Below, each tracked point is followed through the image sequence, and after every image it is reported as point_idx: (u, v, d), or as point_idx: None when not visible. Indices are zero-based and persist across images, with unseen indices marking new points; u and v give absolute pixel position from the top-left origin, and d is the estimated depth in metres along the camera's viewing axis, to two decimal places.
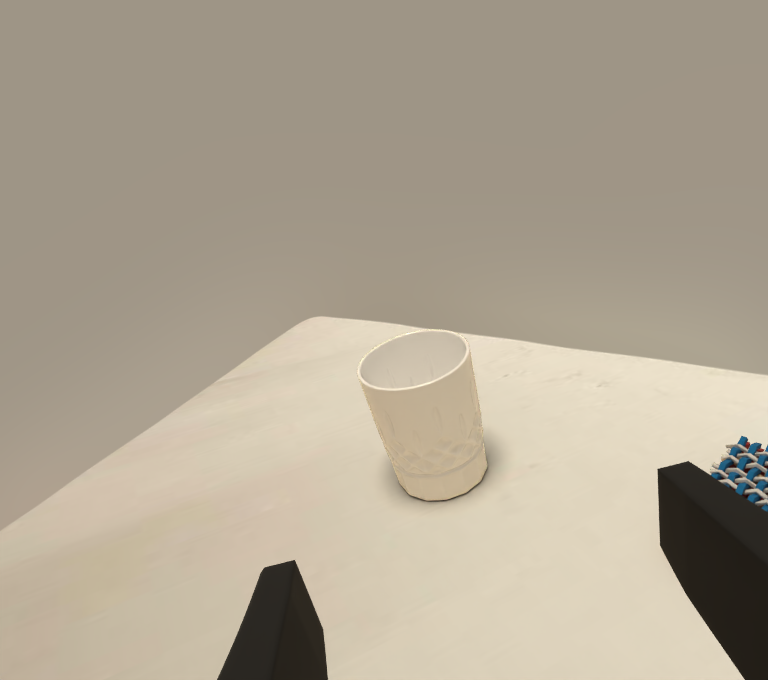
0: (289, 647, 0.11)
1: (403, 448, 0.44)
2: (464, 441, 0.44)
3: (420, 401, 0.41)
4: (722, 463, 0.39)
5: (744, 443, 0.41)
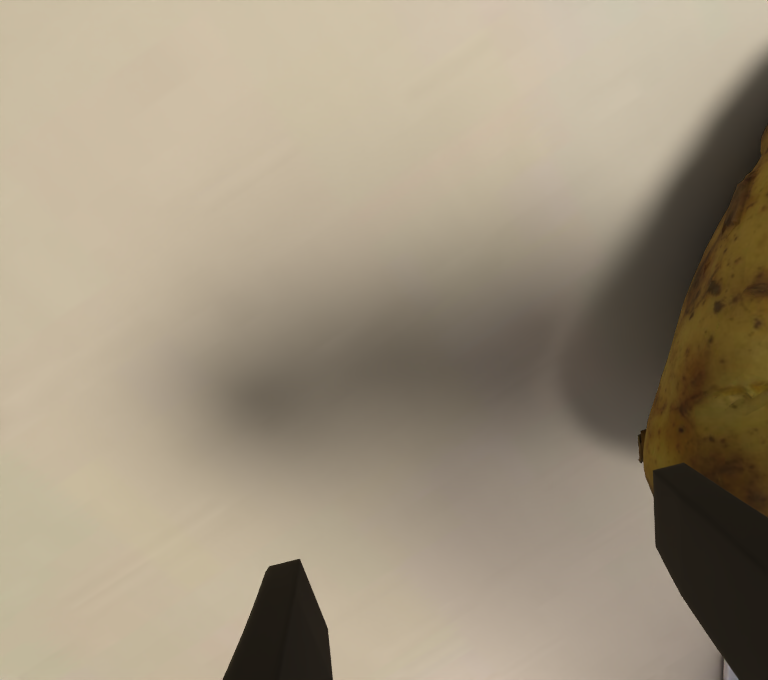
0: (295, 645, 0.11)
1: None
2: None
3: None
4: None
5: None
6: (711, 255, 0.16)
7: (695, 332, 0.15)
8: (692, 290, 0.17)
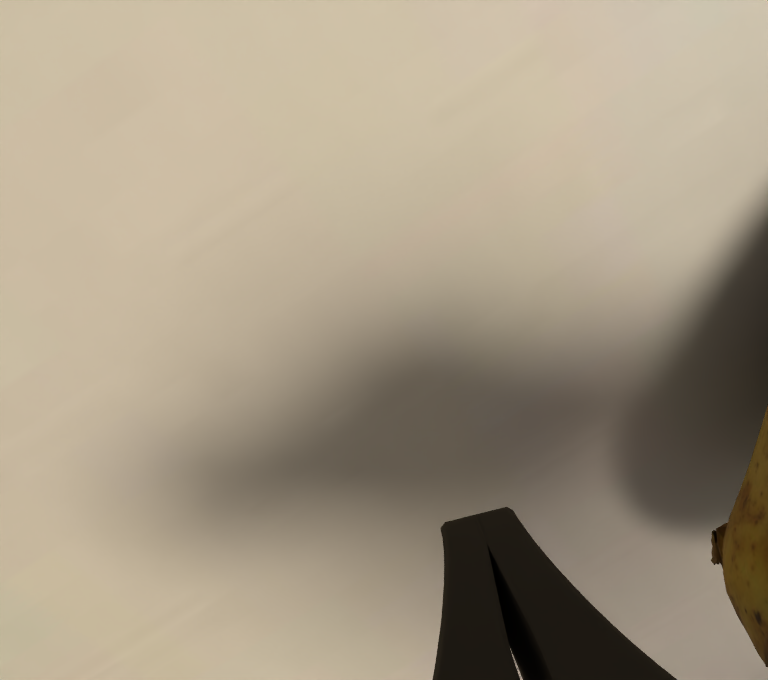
0: None
1: None
2: None
3: None
4: None
5: None
6: None
7: None
8: None
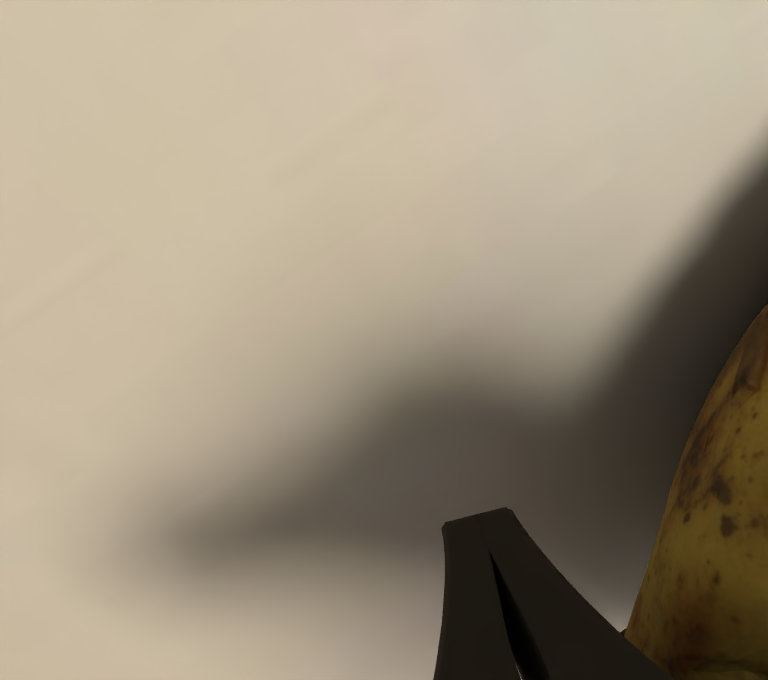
0: None
1: None
2: None
3: None
4: None
5: None
6: (716, 423, 0.11)
7: (692, 554, 0.10)
8: (688, 467, 0.11)
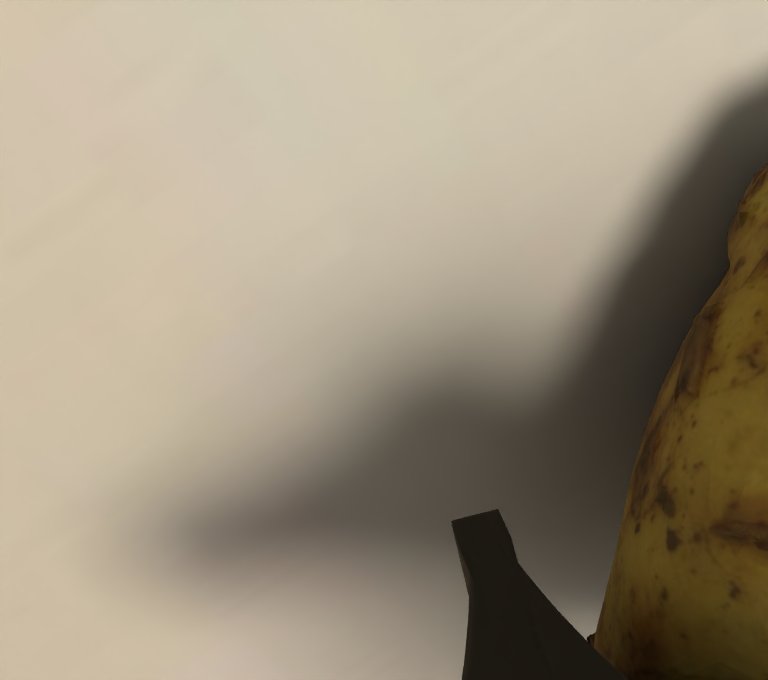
0: None
1: None
2: None
3: None
4: None
5: None
6: (662, 428, 0.11)
7: (642, 567, 0.10)
8: (639, 473, 0.11)
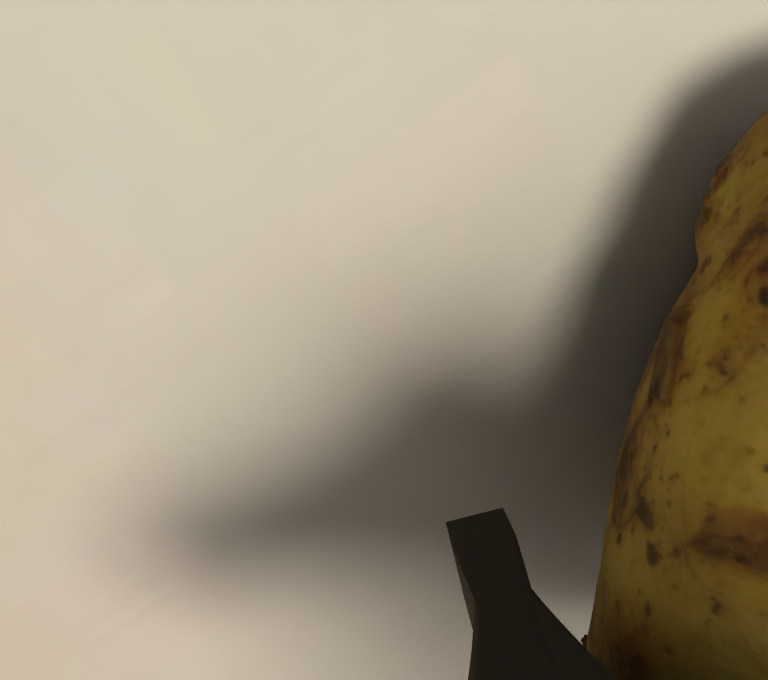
0: None
1: None
2: None
3: None
4: None
5: None
6: (638, 435, 0.10)
7: (624, 581, 0.10)
8: (619, 479, 0.11)
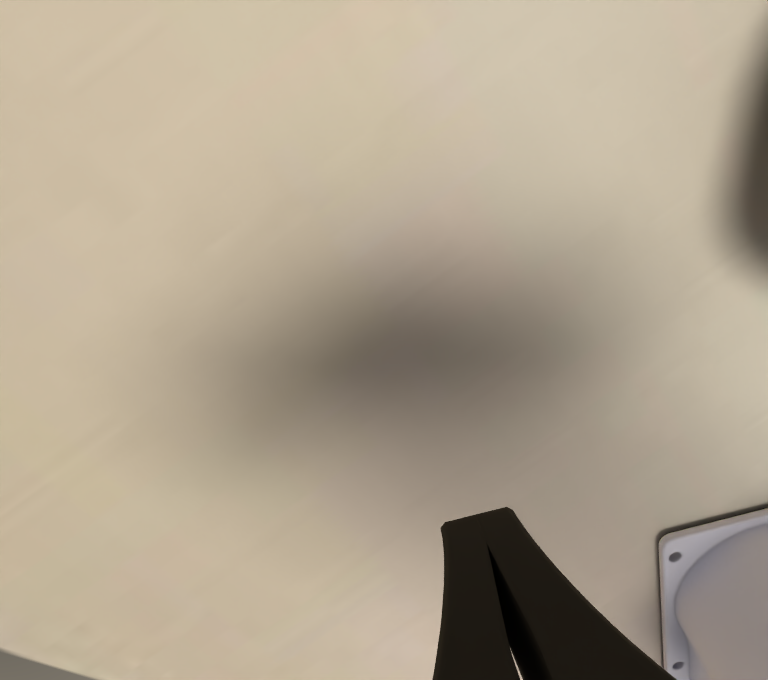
0: None
1: None
2: None
3: None
4: None
5: None
6: None
7: None
8: None
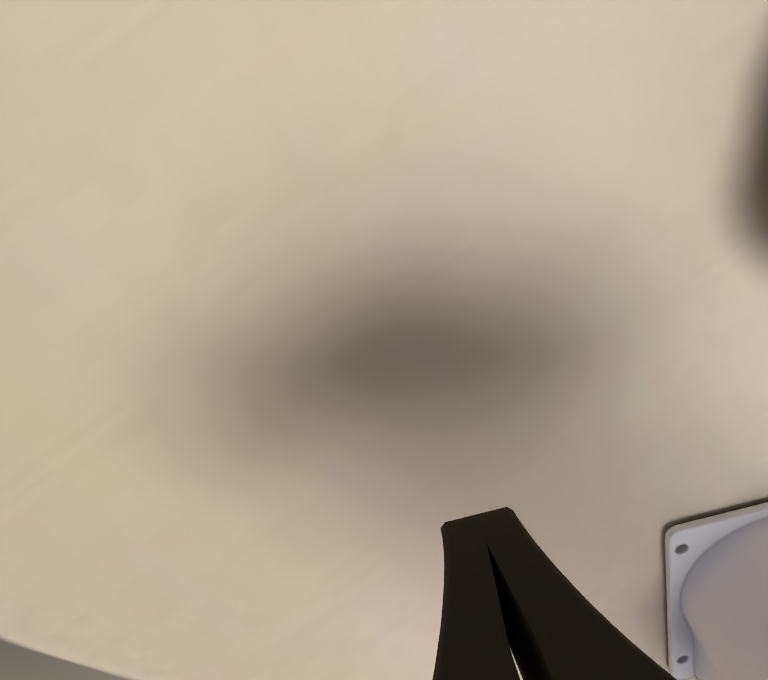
0: None
1: None
2: None
3: None
4: None
5: None
6: None
7: None
8: None
